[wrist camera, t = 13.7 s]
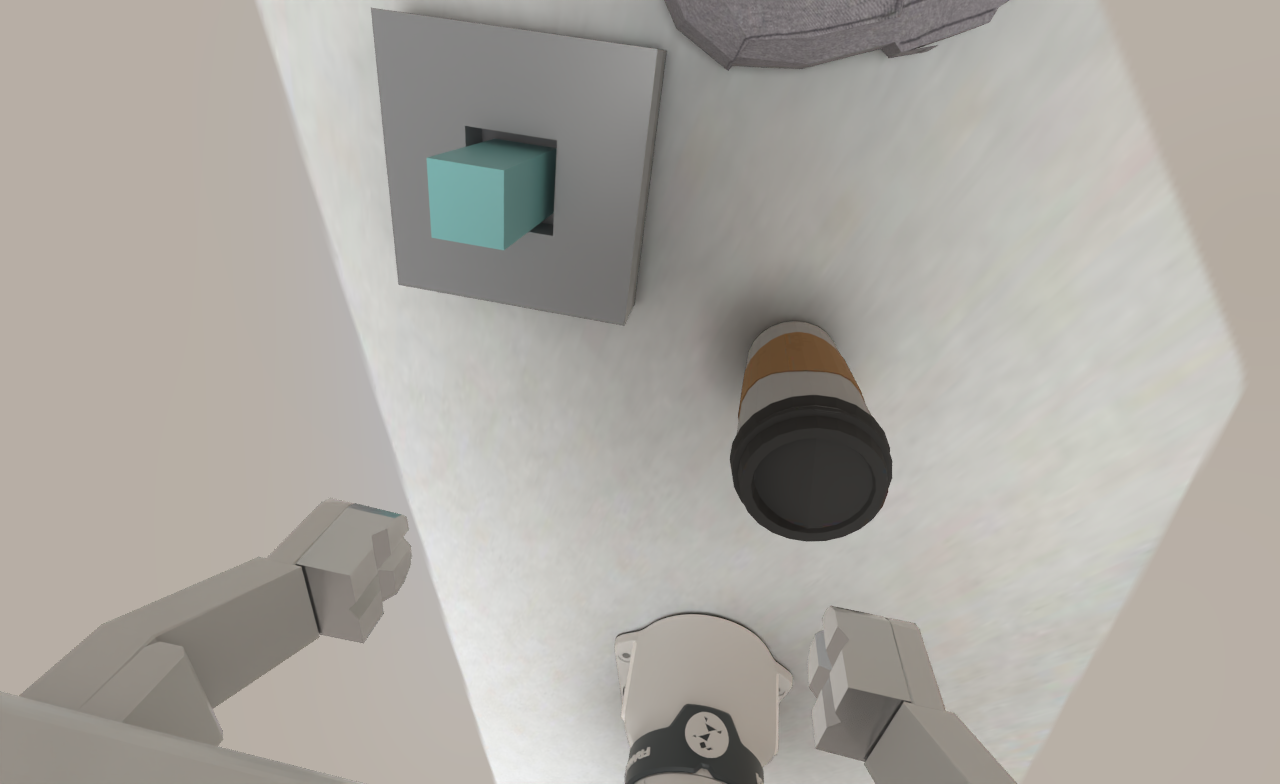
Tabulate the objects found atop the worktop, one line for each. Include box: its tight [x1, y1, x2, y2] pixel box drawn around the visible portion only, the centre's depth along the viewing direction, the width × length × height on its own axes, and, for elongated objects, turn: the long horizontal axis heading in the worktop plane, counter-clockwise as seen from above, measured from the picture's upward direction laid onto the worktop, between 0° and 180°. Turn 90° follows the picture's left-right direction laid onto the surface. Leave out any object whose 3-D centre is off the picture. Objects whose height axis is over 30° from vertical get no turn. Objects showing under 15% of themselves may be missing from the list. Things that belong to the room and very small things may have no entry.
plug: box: [426, 139, 556, 250], centre depth 33 cm, size 4×4×9 cm
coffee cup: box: [730, 321, 892, 541], centre depth 35 cm, size 8×8×15 cm
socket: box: [371, 8, 667, 326], centre depth 36 cm, size 16×16×4 cm
